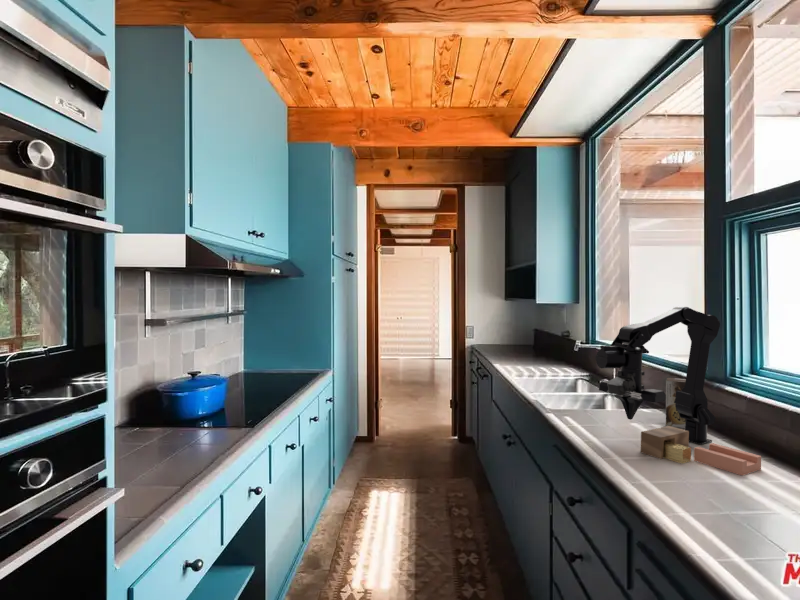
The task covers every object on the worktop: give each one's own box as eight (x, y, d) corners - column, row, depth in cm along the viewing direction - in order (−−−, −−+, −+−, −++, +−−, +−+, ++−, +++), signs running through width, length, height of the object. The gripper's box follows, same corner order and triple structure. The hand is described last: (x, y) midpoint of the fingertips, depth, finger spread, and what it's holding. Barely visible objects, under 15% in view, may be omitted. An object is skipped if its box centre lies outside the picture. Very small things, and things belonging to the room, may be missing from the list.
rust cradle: (712, 455, 135) (713, 443, 135) (761, 469, 125) (761, 456, 125) (694, 460, 131) (694, 447, 131) (742, 475, 120) (742, 461, 120)
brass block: (640, 451, 139) (641, 437, 139) (648, 449, 141) (649, 435, 141) (682, 464, 129) (682, 449, 128) (690, 462, 131) (691, 447, 130)
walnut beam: (668, 445, 144) (668, 425, 143) (688, 451, 138) (688, 431, 138) (640, 452, 137) (641, 431, 137) (660, 458, 132) (661, 437, 132)
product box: (696, 425, 165) (697, 379, 165) (695, 430, 160) (696, 382, 159) (666, 421, 170) (667, 376, 170) (664, 426, 165) (665, 379, 164)
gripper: (587, 365, 148) (586, 415, 148) (643, 374, 132) (642, 430, 132) (610, 363, 153) (609, 411, 154) (667, 372, 137) (666, 425, 137)
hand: (630, 419), depth 144 cm, fingers closed
